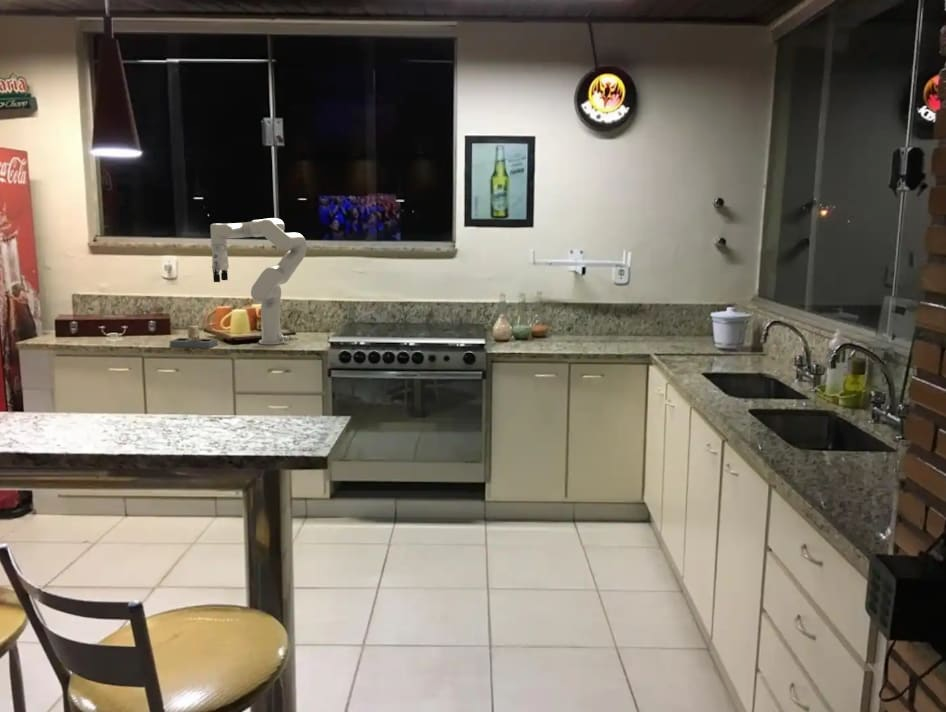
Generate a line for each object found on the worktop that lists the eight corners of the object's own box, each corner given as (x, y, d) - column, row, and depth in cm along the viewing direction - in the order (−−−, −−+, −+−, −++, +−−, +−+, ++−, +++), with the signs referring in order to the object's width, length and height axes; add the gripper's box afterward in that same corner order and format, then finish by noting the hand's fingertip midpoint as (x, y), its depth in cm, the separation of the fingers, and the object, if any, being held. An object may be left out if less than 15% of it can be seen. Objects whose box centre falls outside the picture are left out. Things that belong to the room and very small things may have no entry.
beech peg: (199, 345, 385) (198, 325, 383) (196, 346, 381) (195, 326, 379) (192, 345, 386) (191, 325, 384) (188, 346, 382) (187, 326, 380)
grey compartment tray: (217, 344, 388) (217, 338, 387) (209, 348, 378) (209, 342, 377) (179, 343, 389) (179, 337, 389) (170, 347, 379) (169, 341, 379)
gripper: (219, 249, 386) (221, 283, 390) (232, 247, 403) (234, 279, 407) (204, 248, 387) (206, 282, 390) (218, 246, 404) (220, 279, 407)
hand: (220, 281), depth 398 cm, fingers open, 9 cm apart
